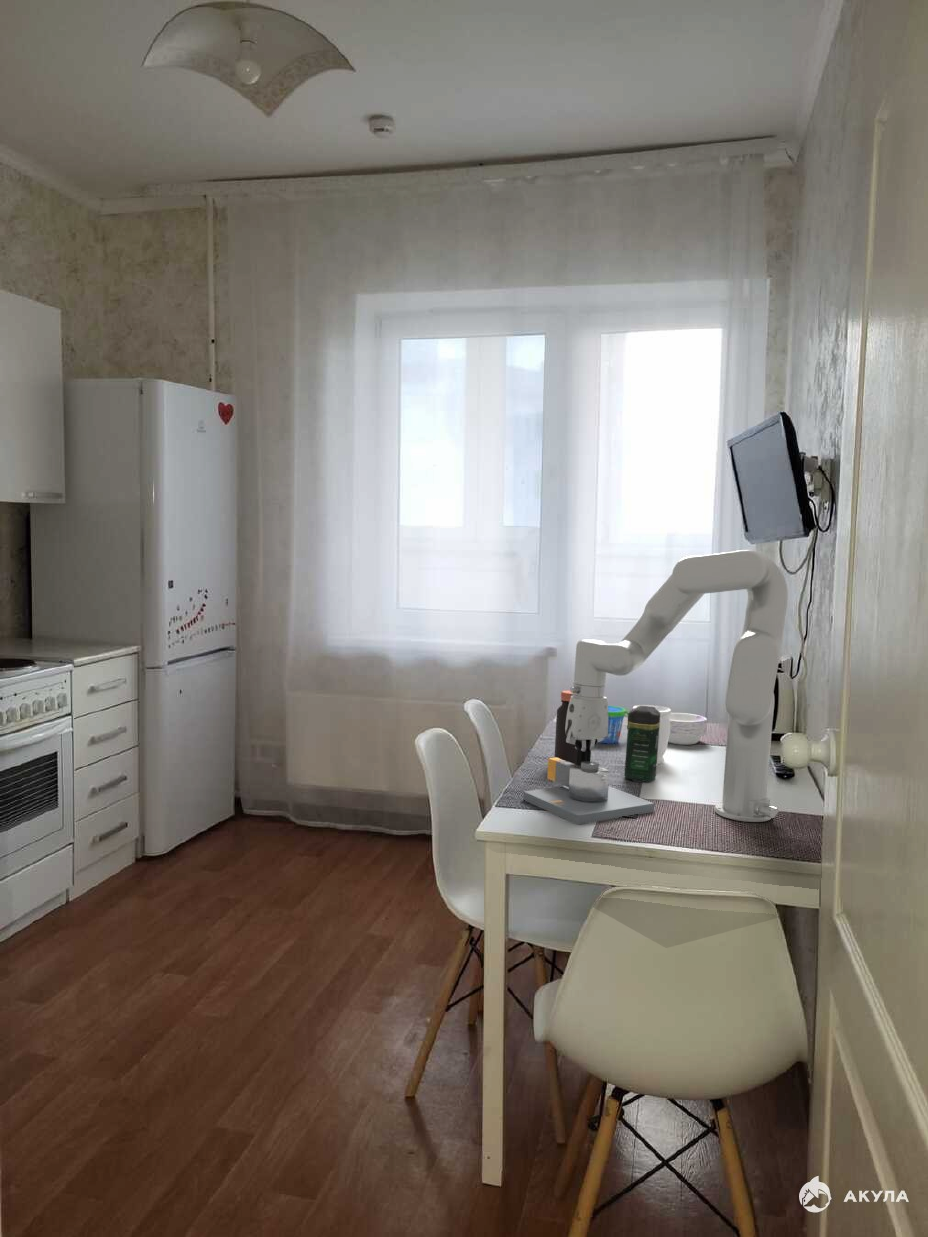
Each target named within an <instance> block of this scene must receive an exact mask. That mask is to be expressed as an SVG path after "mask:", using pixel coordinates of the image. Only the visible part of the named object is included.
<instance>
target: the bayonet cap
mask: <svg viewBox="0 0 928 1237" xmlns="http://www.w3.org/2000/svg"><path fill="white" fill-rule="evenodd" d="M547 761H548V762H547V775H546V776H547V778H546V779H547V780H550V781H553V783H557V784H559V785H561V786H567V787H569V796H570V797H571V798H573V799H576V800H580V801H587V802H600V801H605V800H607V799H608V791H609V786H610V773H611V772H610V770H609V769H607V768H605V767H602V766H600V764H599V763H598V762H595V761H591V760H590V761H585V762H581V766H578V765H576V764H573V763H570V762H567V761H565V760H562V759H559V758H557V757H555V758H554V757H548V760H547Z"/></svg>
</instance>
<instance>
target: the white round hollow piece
mask: <svg viewBox="0 0 928 1237" xmlns="http://www.w3.org/2000/svg"><path fill="white" fill-rule="evenodd" d="M669 719H670V735H669V740H668V743H669V744H674V745H682V746H683V745H685V746H689V745H690V746H691V745H696V744H697V743H698V742H699V741H700V739H701V737H703V736H706V735H707V734H708V732H707V731H708V718H707V717H705V716H703V715H699V714H694V713H686V712H671V713H670V714H669Z"/></svg>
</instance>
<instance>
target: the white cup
mask: <svg viewBox="0 0 928 1237" xmlns="http://www.w3.org/2000/svg"><path fill="white" fill-rule="evenodd" d="M639 706H648V707H655V709H657V710H658V711H659V712H660V727H659V741H658V754H657V765H660V764H663V763H664V762H665V758H664V755H665V754H666V751H667V749H668V748H667V747H668V743H669V742H668V740H669V735H670V719H669V714H670V713H672V709H671V708H669V707H665V706H662V705H655V704H653V705H652V704H637V705H634V706H633V707H632V709H634V708H637V707H639Z"/></svg>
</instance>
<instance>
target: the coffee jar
mask: <svg viewBox="0 0 928 1237" xmlns="http://www.w3.org/2000/svg"><path fill="white" fill-rule="evenodd" d="M628 712H629V717H628V716H627V725H628V729H627V734H626V736H627V737H626V746H625V747H626V748H625V749H626V750H625V761H624V762H625V764H624V777H625V779H629V780H632V781H633V782H639V783H641V782H652V781H654V779H656V776H657V768H658V764H657V754H658V741H659V727H660V712H659V711H658V710H657V709H655V707H648V706H639V707H637V708H634V709H633V708H632V709H630V710H629V711H628Z"/></svg>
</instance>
